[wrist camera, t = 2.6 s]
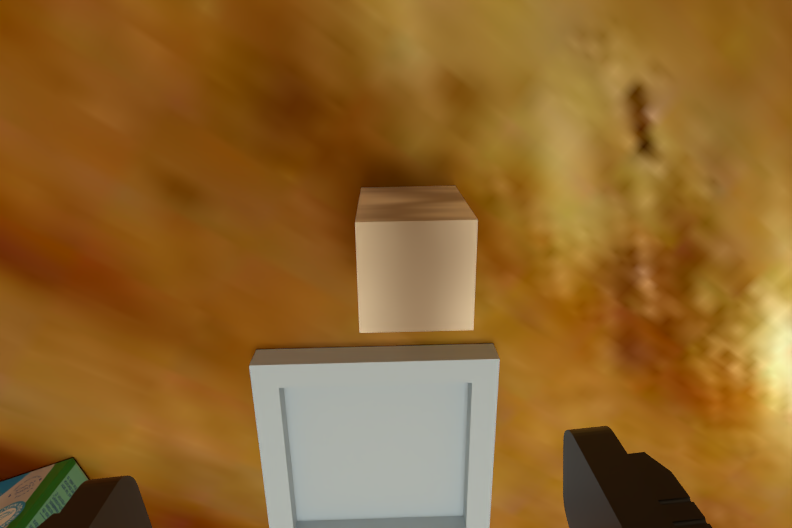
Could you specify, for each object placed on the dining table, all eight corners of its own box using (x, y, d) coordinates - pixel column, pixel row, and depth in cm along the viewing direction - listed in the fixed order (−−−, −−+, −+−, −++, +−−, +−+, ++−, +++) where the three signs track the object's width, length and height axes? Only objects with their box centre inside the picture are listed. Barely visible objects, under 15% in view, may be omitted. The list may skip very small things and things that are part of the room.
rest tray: (493, 343, 31) (499, 359, 29) (483, 525, 36) (488, 547, 34) (256, 349, 31) (249, 365, 29) (277, 531, 36) (272, 554, 34)
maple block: (455, 185, 28) (478, 219, 21) (452, 273, 30) (473, 330, 23) (361, 187, 28) (354, 222, 21) (364, 275, 29) (359, 332, 23)
